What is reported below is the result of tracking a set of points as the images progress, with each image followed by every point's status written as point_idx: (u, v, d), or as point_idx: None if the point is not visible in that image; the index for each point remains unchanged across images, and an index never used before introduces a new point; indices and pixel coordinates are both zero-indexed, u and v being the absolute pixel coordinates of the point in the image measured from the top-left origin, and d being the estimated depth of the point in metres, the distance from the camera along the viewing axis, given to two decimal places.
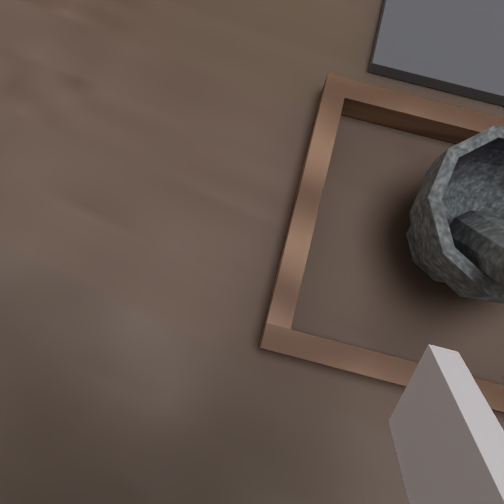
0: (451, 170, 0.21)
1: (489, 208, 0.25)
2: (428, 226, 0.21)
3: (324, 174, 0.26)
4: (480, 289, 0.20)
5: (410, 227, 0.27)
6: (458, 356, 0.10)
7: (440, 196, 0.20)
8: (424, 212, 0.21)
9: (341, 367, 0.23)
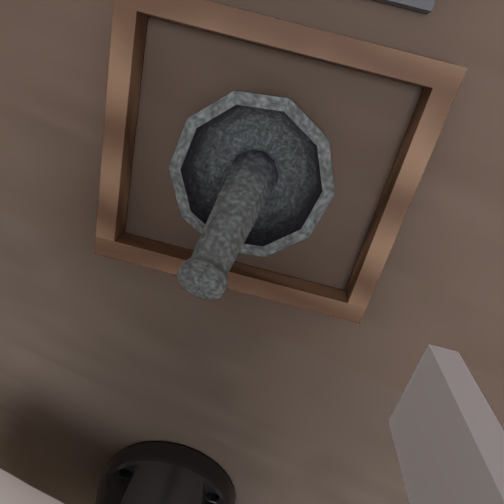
0: (189, 141, 0.22)
1: (281, 139, 0.26)
2: None
3: (125, 107, 0.27)
4: None
5: None
6: (458, 356, 0.10)
7: (179, 167, 0.23)
8: None
9: (153, 268, 0.31)
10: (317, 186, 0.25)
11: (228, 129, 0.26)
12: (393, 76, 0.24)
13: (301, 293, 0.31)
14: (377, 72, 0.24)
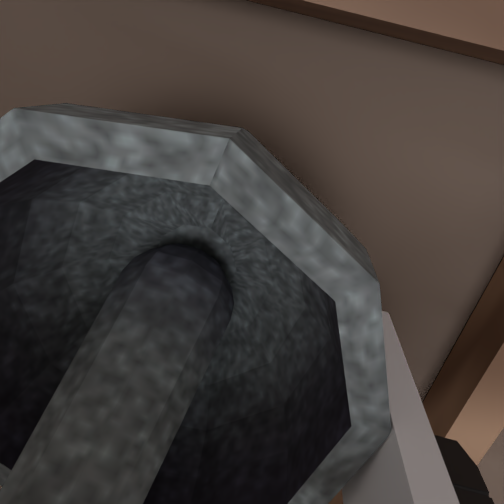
0: None
1: (240, 218, 0.11)
2: None
3: None
4: None
5: None
6: (387, 315, 0.11)
7: None
8: None
9: None
10: (331, 363, 0.09)
11: (103, 197, 0.10)
12: None
13: None
14: (502, 47, 0.09)
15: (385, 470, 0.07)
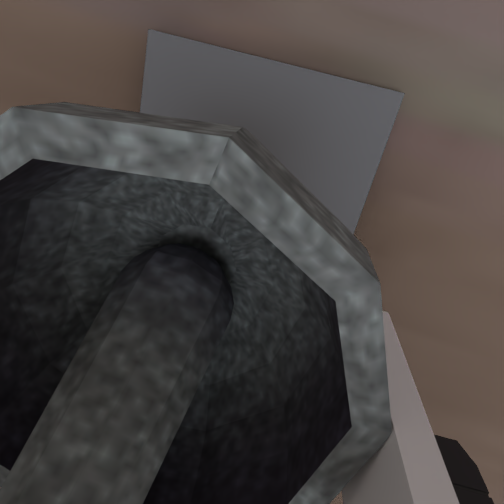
0: None
1: (240, 217, 0.11)
2: None
3: None
4: None
5: None
6: (387, 315, 0.11)
7: None
8: None
9: None
10: (332, 363, 0.09)
11: (102, 197, 0.10)
12: None
13: None
14: None
15: (385, 470, 0.07)
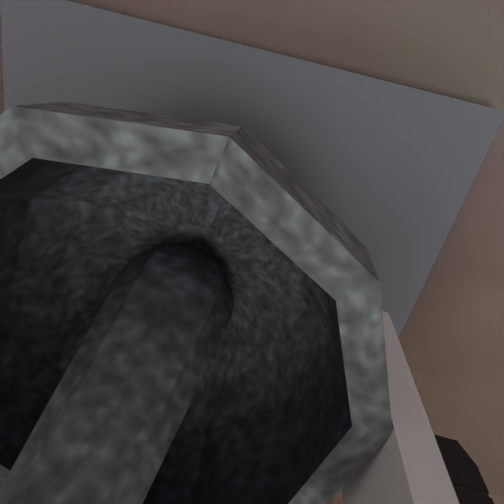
0: None
1: (240, 217, 0.11)
2: None
3: None
4: None
5: None
6: (387, 315, 0.11)
7: None
8: None
9: None
10: (332, 363, 0.09)
11: (102, 196, 0.10)
12: None
13: None
14: None
15: (385, 470, 0.07)
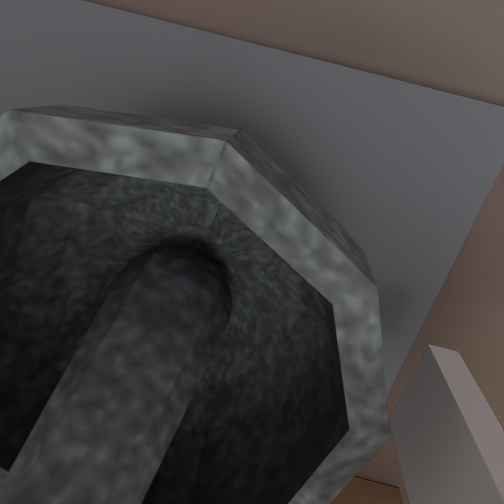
0: None
1: (239, 219, 0.11)
2: None
3: None
4: None
5: None
6: (458, 356, 0.10)
7: None
8: None
9: None
10: (330, 365, 0.09)
11: (101, 198, 0.10)
12: None
13: None
14: None
15: None
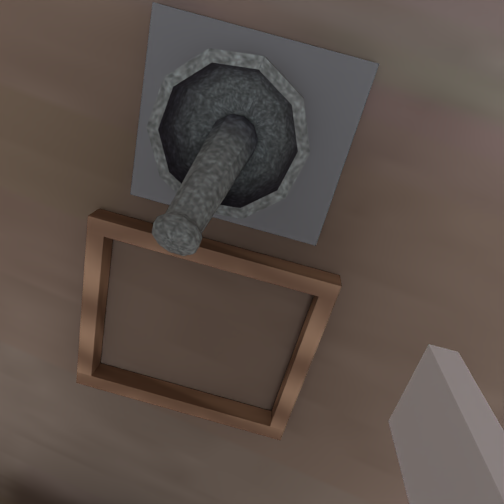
0: (166, 100, 0.23)
1: (261, 104, 0.27)
2: None
3: (96, 293, 0.36)
4: None
5: None
6: (458, 356, 0.10)
7: (156, 127, 0.23)
8: None
9: None
10: (295, 149, 0.25)
11: (208, 93, 0.26)
12: (290, 287, 0.33)
13: (234, 418, 0.40)
14: (278, 284, 0.33)
15: None
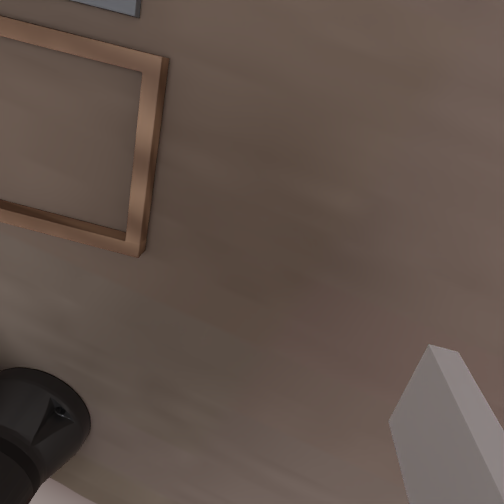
0: None
1: None
2: None
3: None
4: None
5: None
6: (458, 356, 0.10)
7: None
8: None
9: None
10: None
11: None
12: (113, 63, 0.33)
13: (90, 234, 0.40)
14: (102, 61, 0.33)
15: None
